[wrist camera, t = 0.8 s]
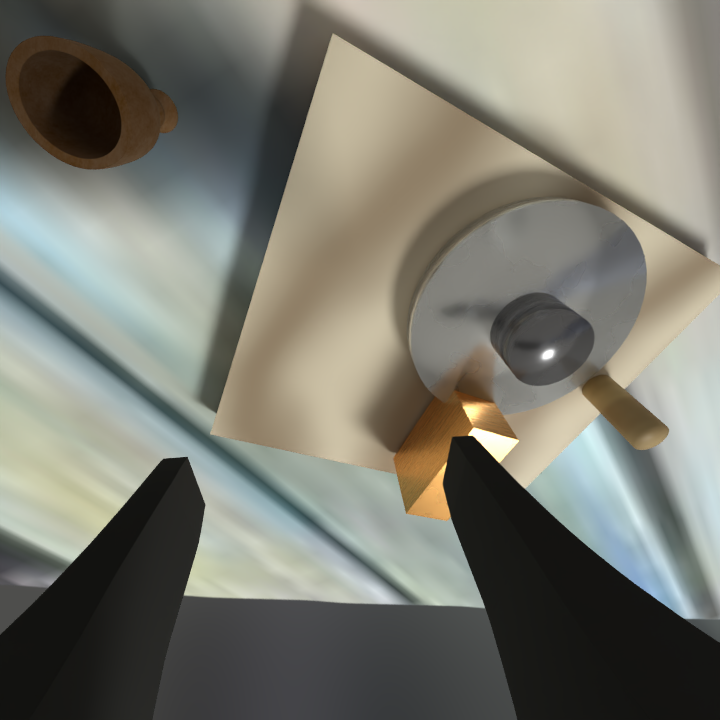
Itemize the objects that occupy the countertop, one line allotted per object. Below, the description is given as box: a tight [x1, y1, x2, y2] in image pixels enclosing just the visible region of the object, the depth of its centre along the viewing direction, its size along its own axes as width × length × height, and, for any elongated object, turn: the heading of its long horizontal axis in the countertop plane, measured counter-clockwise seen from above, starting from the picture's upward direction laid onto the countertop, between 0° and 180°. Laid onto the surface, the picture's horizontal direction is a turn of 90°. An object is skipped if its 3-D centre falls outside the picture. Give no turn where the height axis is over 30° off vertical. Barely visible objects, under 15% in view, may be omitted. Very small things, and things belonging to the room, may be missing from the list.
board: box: [211, 33, 720, 489], centre depth 17 cm, size 20×17×5 cm
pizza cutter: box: [393, 196, 647, 521], centre depth 16 cm, size 15×10×4 cm, turn 156°
